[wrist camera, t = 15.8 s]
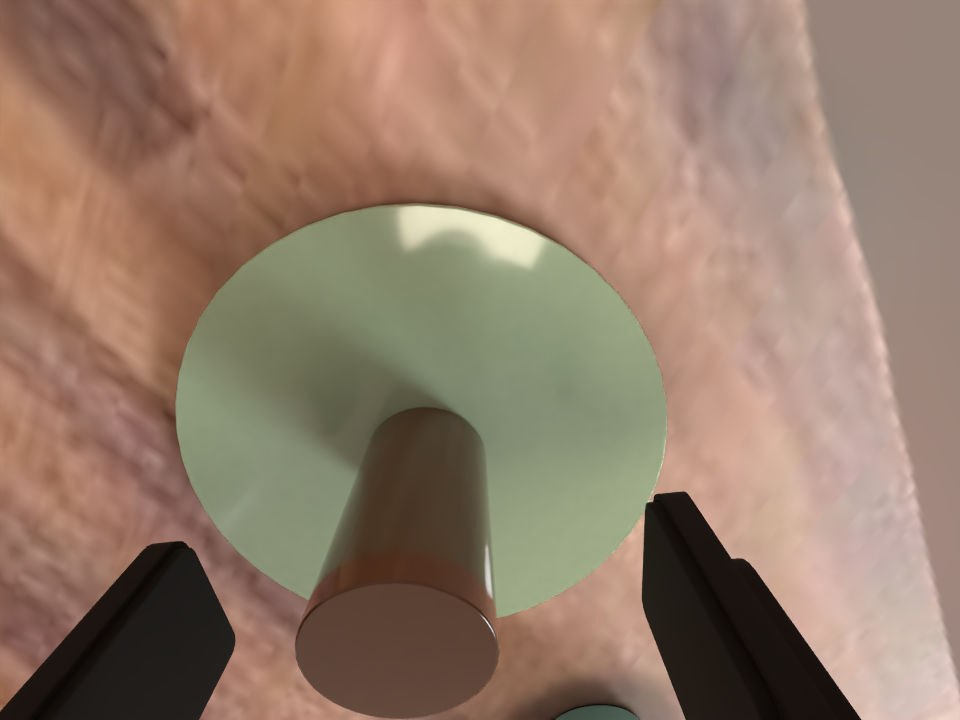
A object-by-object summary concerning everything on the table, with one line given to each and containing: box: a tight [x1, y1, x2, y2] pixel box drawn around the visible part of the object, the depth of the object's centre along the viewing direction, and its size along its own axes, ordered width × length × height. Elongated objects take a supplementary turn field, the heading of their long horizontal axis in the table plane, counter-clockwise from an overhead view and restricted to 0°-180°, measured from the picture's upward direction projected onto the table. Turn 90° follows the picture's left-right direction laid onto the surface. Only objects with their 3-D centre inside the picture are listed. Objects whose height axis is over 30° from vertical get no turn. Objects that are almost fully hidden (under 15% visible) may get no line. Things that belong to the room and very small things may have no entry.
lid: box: [175, 203, 667, 719], centre depth 11 cm, size 15×15×7 cm
